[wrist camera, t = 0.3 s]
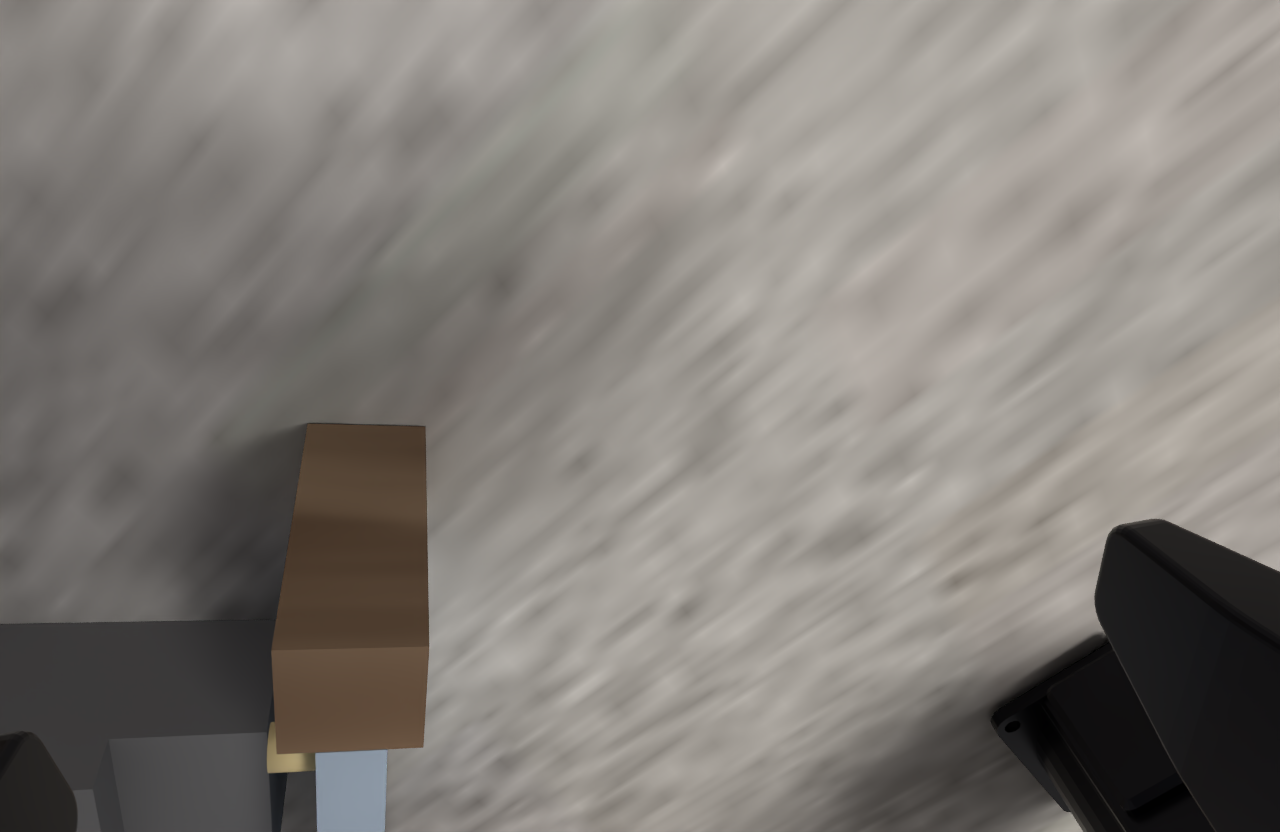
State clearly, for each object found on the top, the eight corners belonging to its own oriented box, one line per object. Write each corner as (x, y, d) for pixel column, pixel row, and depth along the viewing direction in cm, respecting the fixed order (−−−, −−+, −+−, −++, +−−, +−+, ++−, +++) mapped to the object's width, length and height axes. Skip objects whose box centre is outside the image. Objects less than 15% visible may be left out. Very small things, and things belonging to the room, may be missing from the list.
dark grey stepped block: (289, 756, 26) (268, 927, 23) (34, 768, 25) (-35, 953, 21) (283, 614, 24) (259, 780, 20) (-1, 619, 22) (-87, 799, 19)
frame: (403, 876, 30) (400, 1136, 24) (318, 882, 29) (295, 1150, 23) (425, 426, 22) (429, 659, 16) (307, 423, 21) (269, 665, 15)
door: (383, 836, 28) (377, 1066, 23) (304, 842, 28) (280, 1078, 23) (393, 533, 23) (387, 750, 18) (294, 532, 22) (259, 755, 17)
